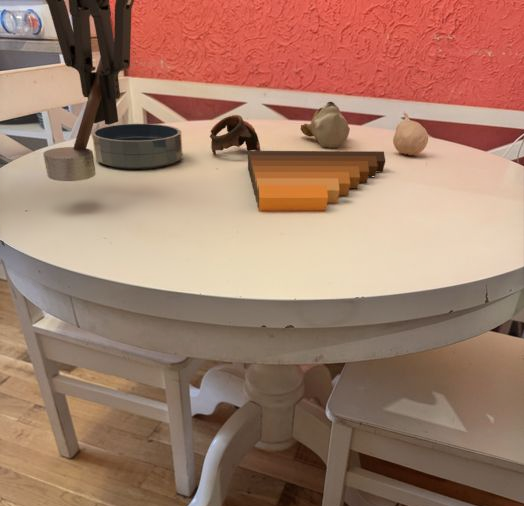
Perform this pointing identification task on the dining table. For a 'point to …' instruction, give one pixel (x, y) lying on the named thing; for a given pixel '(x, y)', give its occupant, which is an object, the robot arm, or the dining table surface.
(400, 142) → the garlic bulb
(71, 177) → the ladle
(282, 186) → the pan flute
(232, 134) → the brown hollow curved piece
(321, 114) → the ceramic sculpture
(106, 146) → the bowl
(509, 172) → the dining table surface
